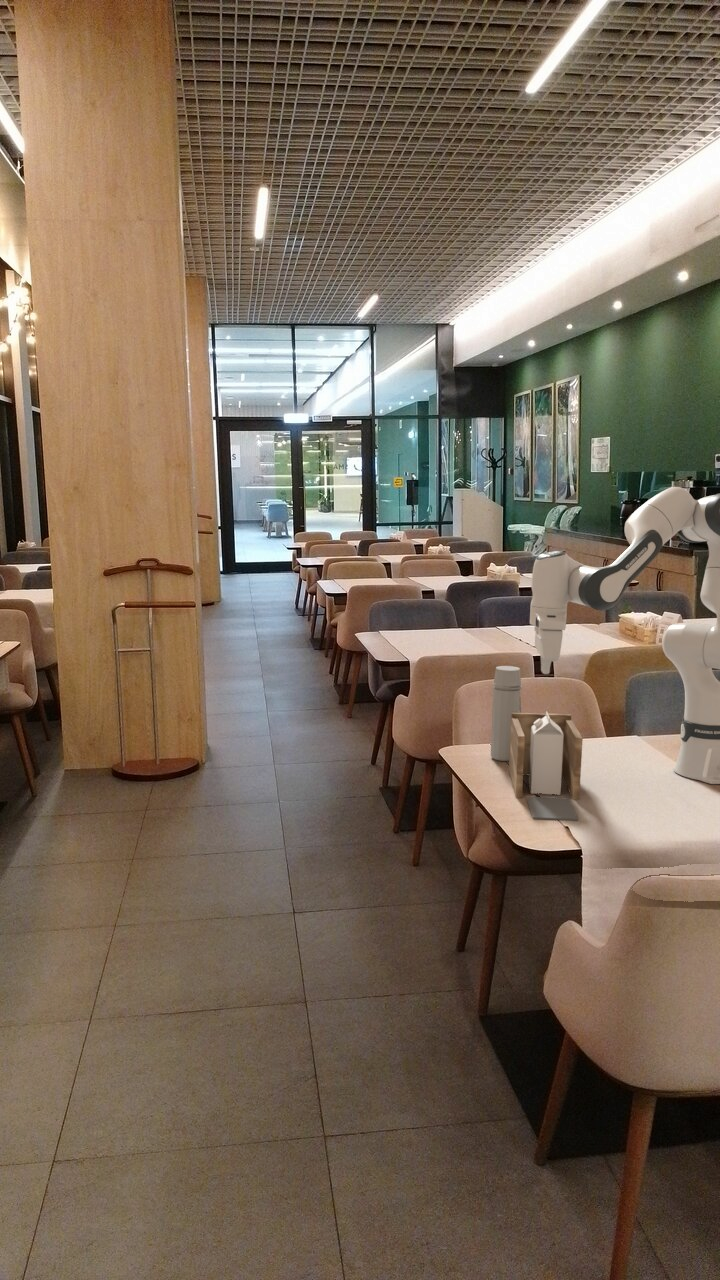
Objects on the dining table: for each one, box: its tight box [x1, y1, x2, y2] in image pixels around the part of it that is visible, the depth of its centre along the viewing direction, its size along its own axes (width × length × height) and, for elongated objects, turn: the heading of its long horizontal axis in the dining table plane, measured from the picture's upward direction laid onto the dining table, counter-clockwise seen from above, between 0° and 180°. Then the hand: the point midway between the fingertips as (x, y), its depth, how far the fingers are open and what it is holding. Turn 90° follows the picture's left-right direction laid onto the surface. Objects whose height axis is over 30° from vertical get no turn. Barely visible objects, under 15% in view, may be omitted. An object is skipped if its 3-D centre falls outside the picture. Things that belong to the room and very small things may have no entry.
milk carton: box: [528, 711, 564, 796], centre depth 232 cm, size 7×7×19 cm
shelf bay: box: [508, 712, 583, 800], centre depth 235 cm, size 15×19×16 cm
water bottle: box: [490, 665, 523, 762], centre depth 258 cm, size 9×8×25 cm
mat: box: [525, 796, 579, 821], centre depth 220 cm, size 10×14×1 cm
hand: (545, 672), depth 237 cm, fingers closed
